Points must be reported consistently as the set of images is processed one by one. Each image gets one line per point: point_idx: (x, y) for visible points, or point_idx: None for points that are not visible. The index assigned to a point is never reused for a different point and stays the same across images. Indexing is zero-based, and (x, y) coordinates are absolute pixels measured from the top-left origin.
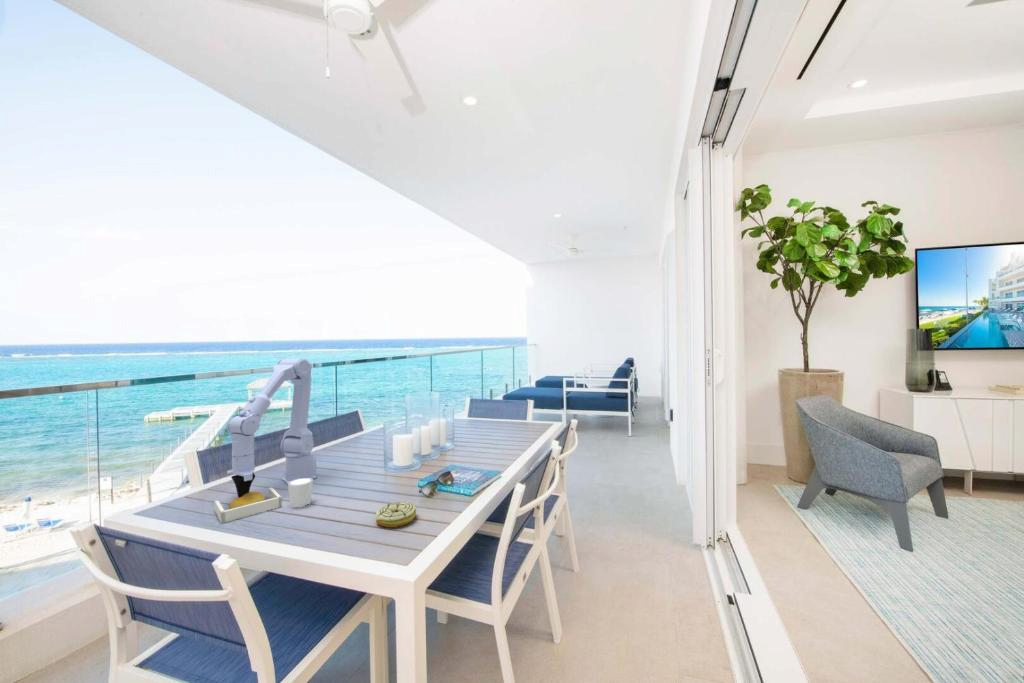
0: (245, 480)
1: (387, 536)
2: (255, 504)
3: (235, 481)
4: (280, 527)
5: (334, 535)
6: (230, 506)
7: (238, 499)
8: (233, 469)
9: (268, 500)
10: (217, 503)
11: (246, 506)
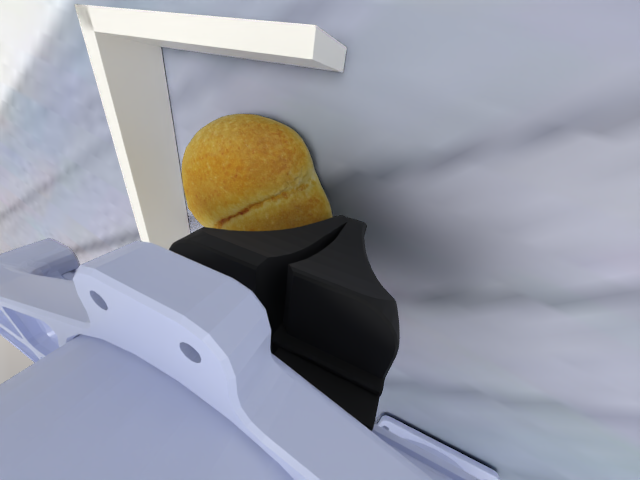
0: (42, 245)
1: (5, 245)
2: (129, 188)
3: (193, 232)
4: (60, 169)
5: (13, 209)
6: (232, 117)
7: (205, 165)
8: (45, 384)
9: (141, 238)
10: (241, 30)
11: (118, 150)
